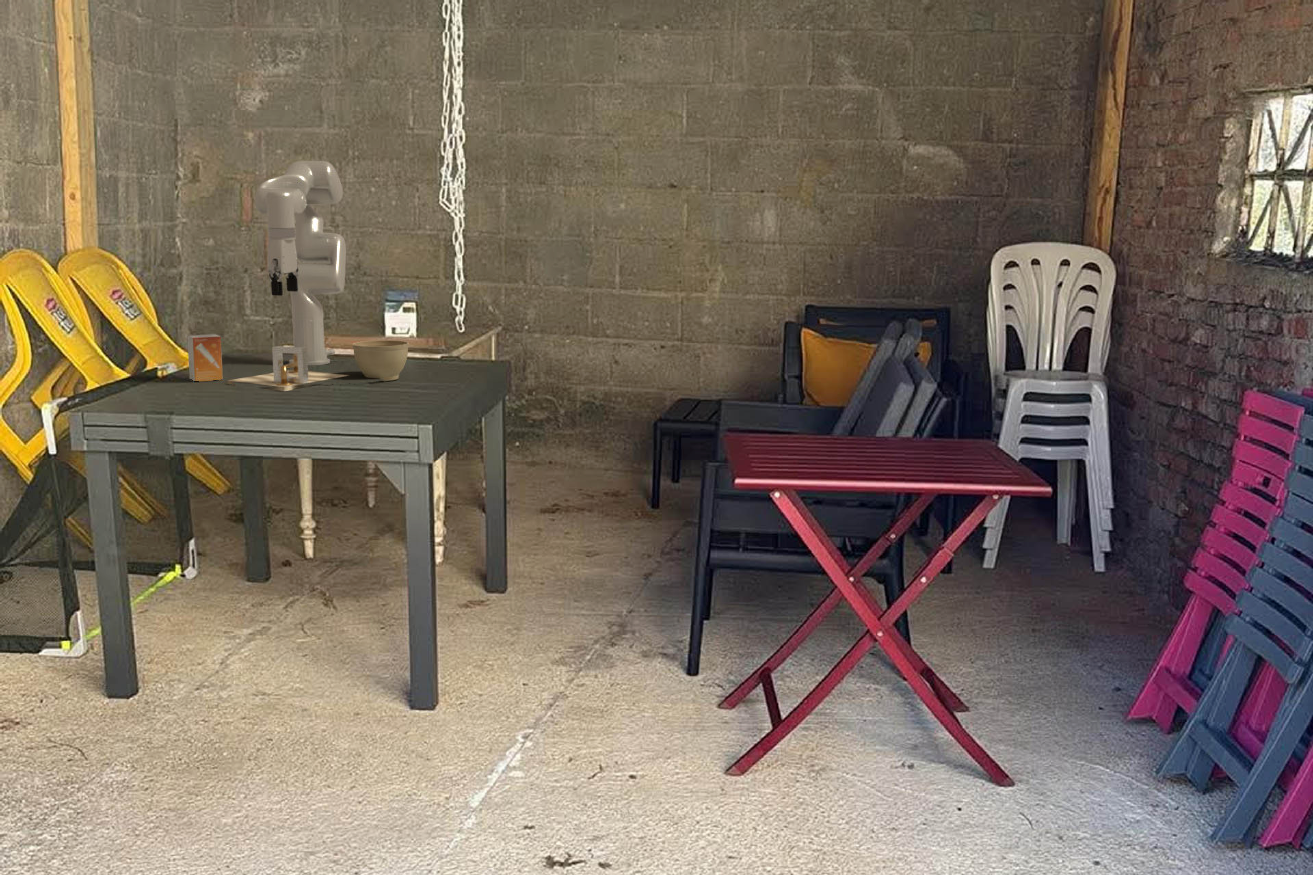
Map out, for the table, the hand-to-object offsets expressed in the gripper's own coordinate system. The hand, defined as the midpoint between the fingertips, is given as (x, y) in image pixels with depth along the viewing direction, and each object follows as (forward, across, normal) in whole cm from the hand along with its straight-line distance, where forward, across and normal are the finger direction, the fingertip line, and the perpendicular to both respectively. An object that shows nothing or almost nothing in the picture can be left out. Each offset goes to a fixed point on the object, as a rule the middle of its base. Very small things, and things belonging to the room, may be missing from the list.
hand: (285, 293), depth 373 cm
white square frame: (+23, +16, +8) cm, 29 cm away
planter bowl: (+25, -3, +28) cm, 37 cm away
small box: (+25, +10, -21) cm, 34 cm away
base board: (+25, +8, +4) cm, 26 cm away
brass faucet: (+24, +8, +4) cm, 25 cm away
